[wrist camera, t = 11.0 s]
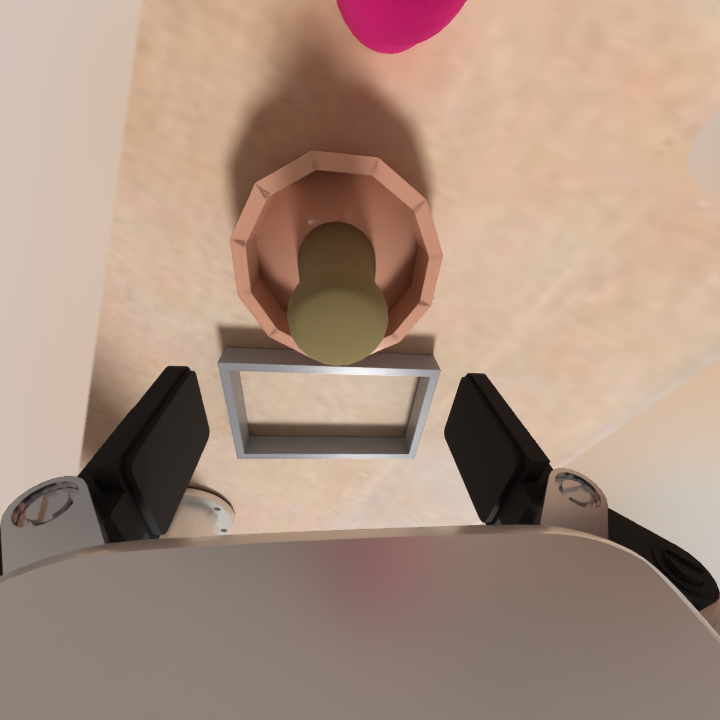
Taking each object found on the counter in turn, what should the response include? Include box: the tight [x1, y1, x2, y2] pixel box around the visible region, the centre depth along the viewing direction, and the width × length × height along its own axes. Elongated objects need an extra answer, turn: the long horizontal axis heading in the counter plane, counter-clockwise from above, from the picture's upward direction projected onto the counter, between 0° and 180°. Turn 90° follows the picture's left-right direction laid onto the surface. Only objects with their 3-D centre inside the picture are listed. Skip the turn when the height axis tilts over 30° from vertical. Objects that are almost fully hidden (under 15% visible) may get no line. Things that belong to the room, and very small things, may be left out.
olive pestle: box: [287, 221, 388, 366], centre depth 19 cm, size 6×6×11 cm
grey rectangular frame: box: [218, 347, 441, 459], centre depth 31 cm, size 13×20×2 cm, turn 85°
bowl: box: [230, 150, 443, 357], centre depth 22 cm, size 14×14×4 cm
